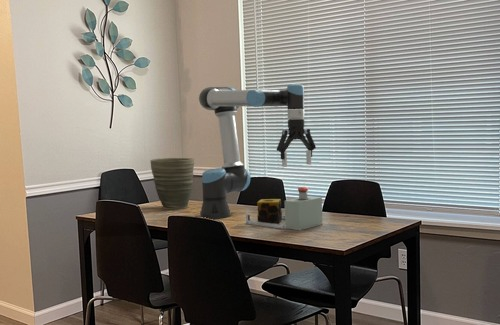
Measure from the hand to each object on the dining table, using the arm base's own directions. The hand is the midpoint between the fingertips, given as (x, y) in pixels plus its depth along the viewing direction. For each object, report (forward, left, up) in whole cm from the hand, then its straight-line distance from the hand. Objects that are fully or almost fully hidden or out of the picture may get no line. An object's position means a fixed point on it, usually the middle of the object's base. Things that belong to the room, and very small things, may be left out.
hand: (296, 165), depth 258 cm
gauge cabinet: (+9, -8, -26) cm, 28 cm away
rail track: (-6, -8, -26) cm, 27 cm away
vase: (-84, -6, -26) cm, 88 cm away
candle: (-11, -8, -26) cm, 29 cm away
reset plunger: (+9, -8, -17) cm, 21 cm away
